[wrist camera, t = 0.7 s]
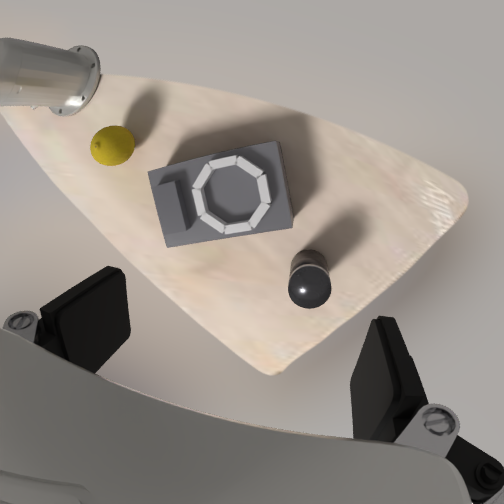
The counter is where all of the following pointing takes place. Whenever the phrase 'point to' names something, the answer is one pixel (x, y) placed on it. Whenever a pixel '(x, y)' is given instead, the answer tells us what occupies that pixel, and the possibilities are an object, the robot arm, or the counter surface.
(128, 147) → the lemon
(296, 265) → the lens
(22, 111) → the counter surface
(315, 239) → the counter surface
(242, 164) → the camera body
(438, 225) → the counter surface
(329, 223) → the counter surface
